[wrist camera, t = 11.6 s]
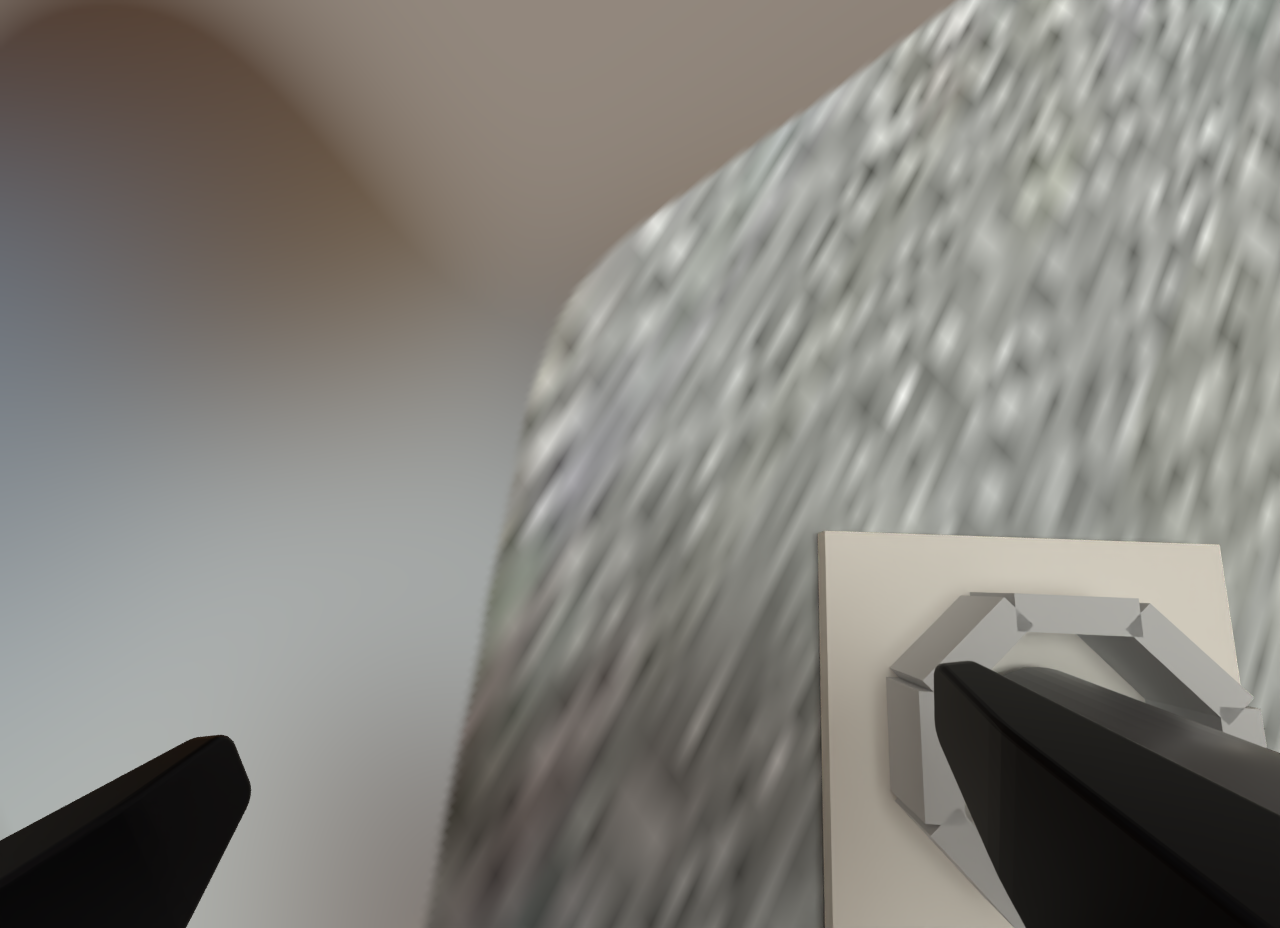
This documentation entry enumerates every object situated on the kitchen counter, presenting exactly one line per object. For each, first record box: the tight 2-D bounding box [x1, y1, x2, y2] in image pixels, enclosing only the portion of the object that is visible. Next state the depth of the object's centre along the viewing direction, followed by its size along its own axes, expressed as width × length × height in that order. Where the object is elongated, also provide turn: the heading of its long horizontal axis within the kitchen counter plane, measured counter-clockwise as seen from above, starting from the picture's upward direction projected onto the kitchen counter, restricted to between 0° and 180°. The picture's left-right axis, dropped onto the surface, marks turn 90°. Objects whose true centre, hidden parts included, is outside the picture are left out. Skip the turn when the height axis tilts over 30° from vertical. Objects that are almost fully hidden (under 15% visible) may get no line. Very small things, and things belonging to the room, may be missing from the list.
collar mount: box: [818, 531, 1267, 928], centre depth 17 cm, size 12×12×4 cm
